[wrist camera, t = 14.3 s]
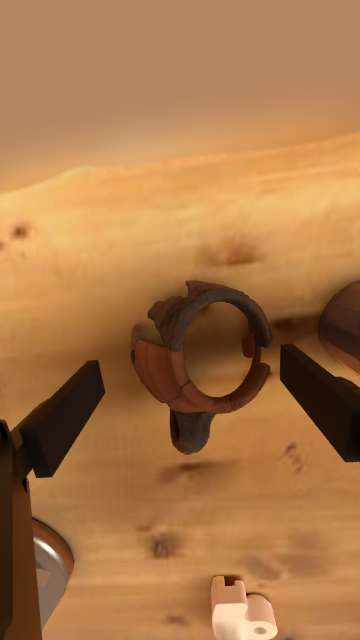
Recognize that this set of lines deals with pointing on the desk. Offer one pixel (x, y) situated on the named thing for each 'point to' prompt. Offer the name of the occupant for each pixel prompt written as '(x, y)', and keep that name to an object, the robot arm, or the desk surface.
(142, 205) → the desk surface
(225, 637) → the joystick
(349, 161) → the desk surface
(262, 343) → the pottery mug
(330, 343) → the cup
